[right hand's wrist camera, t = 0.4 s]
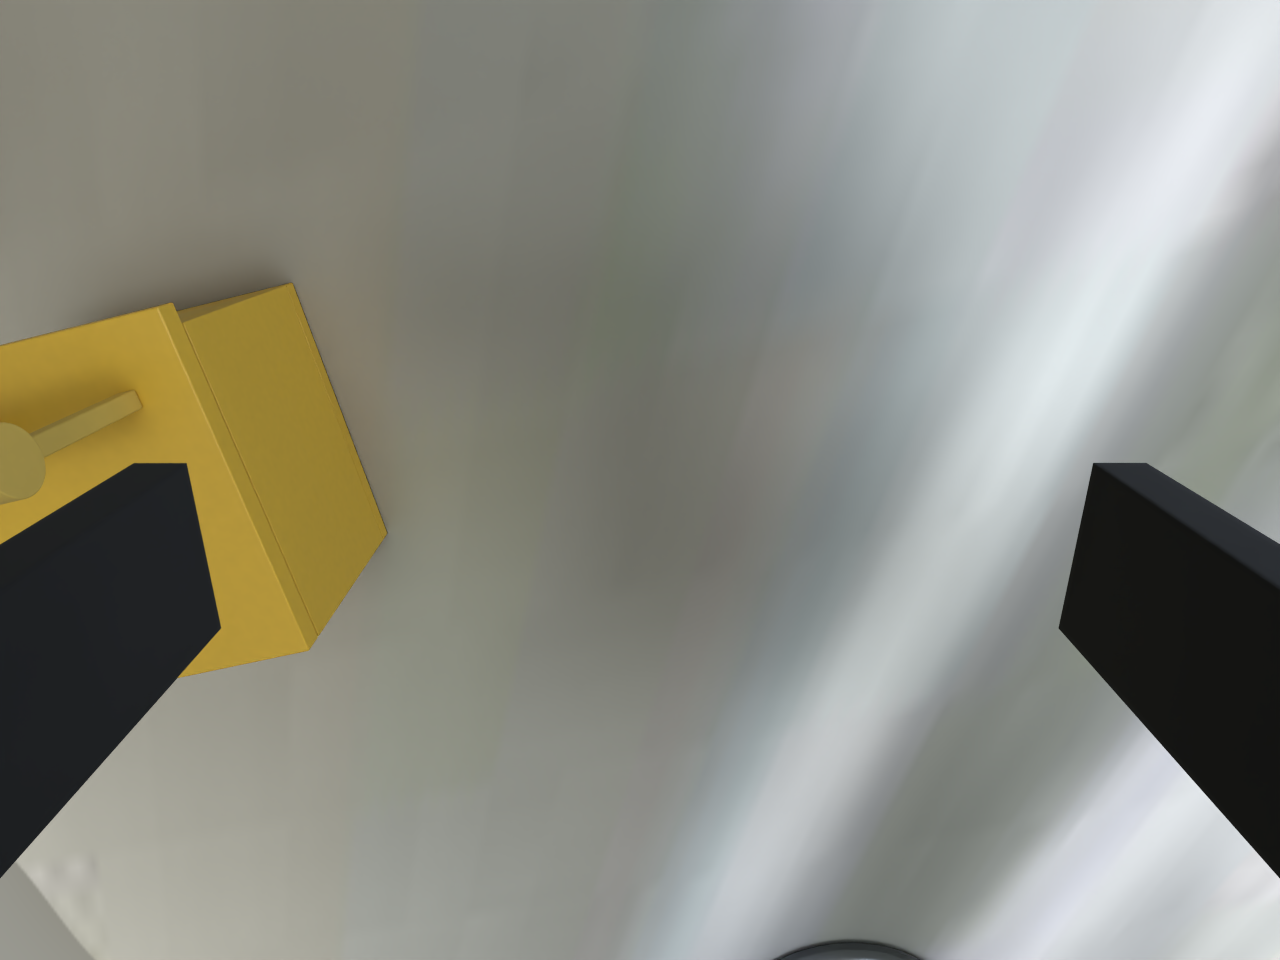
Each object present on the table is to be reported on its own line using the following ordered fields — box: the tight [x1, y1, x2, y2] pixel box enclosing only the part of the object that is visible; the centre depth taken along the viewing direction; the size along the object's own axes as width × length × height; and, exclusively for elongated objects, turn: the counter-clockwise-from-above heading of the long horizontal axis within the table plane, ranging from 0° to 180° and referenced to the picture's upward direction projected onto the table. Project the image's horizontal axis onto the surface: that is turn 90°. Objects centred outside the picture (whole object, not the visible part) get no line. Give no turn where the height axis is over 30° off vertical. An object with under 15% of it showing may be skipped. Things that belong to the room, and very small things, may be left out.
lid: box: [0, 303, 317, 678], centre depth 28 cm, size 14×10×8 cm
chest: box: [177, 283, 387, 636], centre depth 36 cm, size 13×10×10 cm
